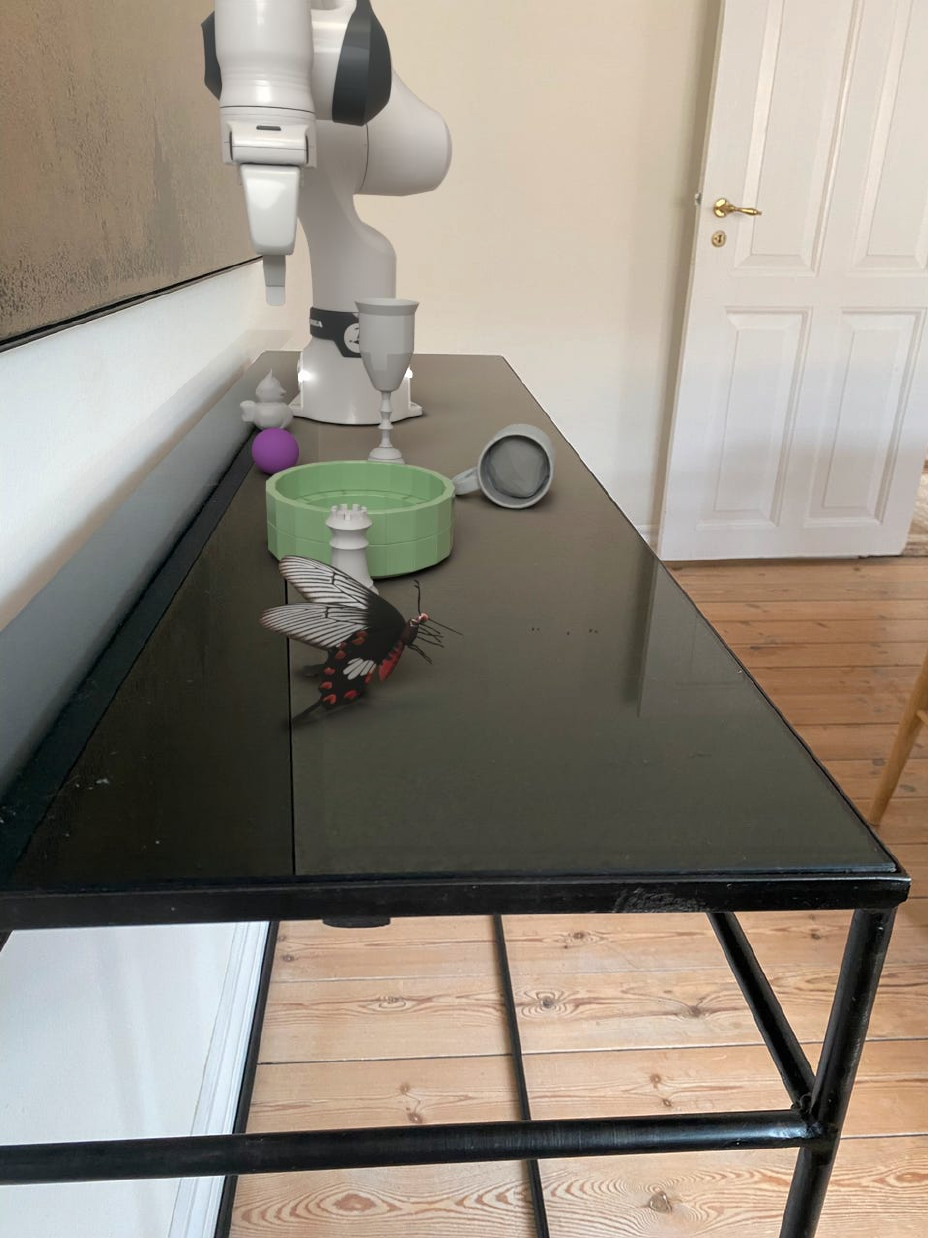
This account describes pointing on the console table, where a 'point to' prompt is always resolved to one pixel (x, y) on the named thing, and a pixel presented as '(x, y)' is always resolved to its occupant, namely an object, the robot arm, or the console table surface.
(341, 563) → the rook chess piece
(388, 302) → the chalice
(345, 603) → the butterfly
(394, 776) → the console table surface
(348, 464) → the bowl
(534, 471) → the ceramic mug
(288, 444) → the ball
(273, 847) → the console table surface
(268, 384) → the rubber duck
